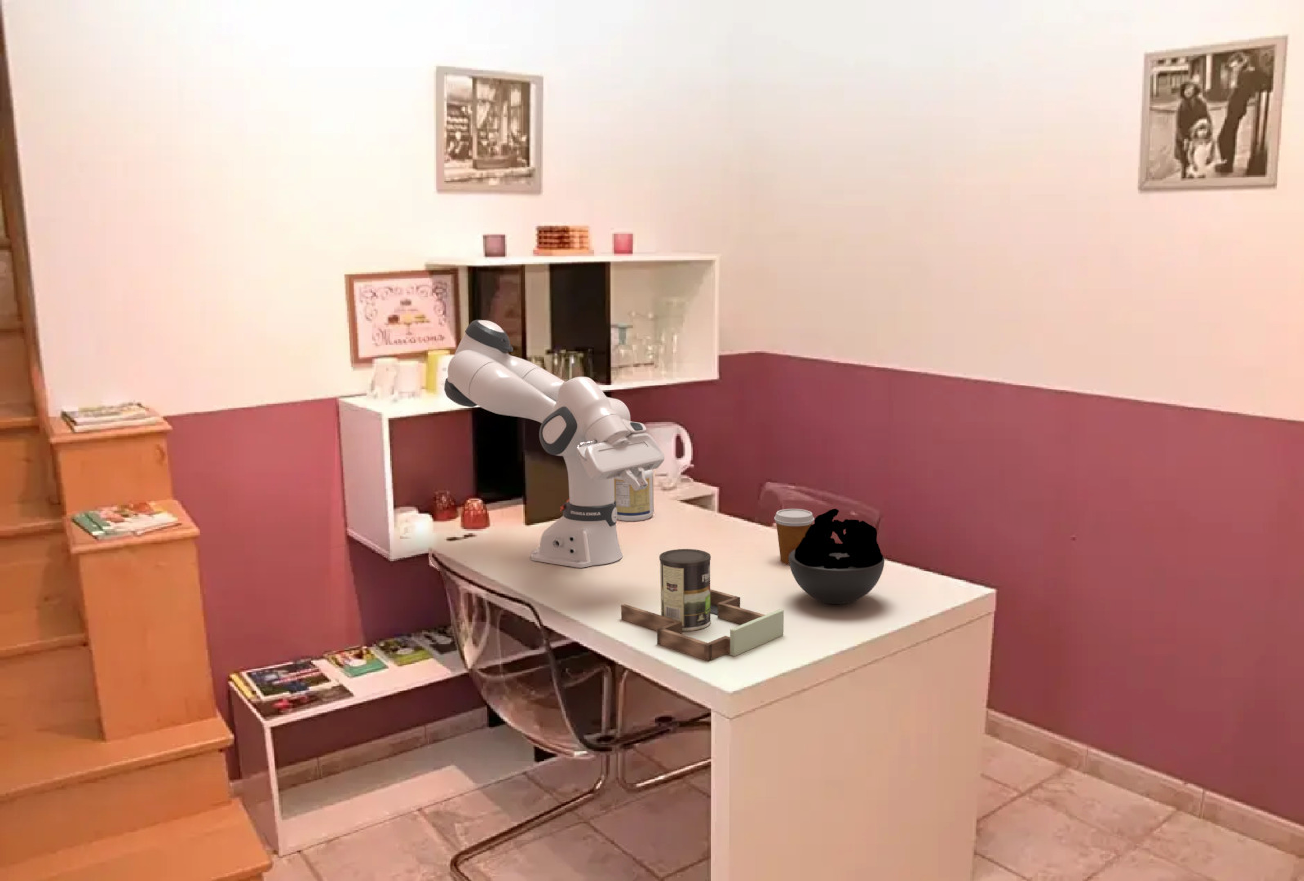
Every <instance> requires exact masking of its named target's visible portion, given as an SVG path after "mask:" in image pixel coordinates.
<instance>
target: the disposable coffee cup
mask: <svg viewBox="0 0 1304 881" xmlns="http://www.w3.org/2000/svg"><path fill="white" fill-rule="evenodd" d="M773 518H774V519H773V520H774V522H775V524H776V532H777V539H778V540H777V541H778V548H779V549H778V550H779V557H780V562H781V563H783V564H784V565H789V566H790V564H789V554H790V553H791V552H792V551H793V550H795V549H796V548H797V547H798V545H799V544H800V542H801V540H802V538H803V537H805V533H806V532H807V530H808V528H809V527H810V526H811V525H812V524H814V520H815V517H814V515H813V512H812V511H809V510H807V509H801V508H786V509H785V508H784V509H779V510H777V511H776V513H775V516H774V517H773Z"/></svg>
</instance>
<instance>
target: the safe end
mask: <svg viewBox="0 0 1304 881" xmlns="http://www.w3.org/2000/svg"><path fill="white" fill-rule="evenodd" d="M784 617H785V616H784V610H783V609H780V608H779V609H777V610H774V611H772V612H769V613H767V614H764V616H762V617H759V618H757V619H754V620H752V621H750V622H747V623H745V624H742V625H741V624H739V625H737V626H736V627H732V628H731V629H730V630H729V637H730V655H729V656H732V657H736V656H738V655H740V654H743V653H746V652H747V651H750V650H752V649H754V648H757V647H759V646H762V645H764V644H765V643H768V642H770V641H773V640H775V639H777V638H780V637H782V636H784V629H785V628H784V625H785V624H784Z"/></svg>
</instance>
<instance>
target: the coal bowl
mask: <svg viewBox="0 0 1304 881" xmlns="http://www.w3.org/2000/svg"><path fill="white" fill-rule="evenodd" d="M839 512H840V510H839V509H838V508H833V509H829V510H828V511H826V512H824V513H821V514H818V515H817V516H816V517H814V521H813V523H812V525H811V526H810V527H809V528H808V530H807V532H806V533H805V537H803V538H802V540H801V542H800V544H799V545H798V547H797V548H796V549H795V550H793V551H792V552H791V553H790V554H789V564H790V565H789V564H788V565H789V568H790V572H791V574H792V576H793V578H794V580H795V583H797V585H798V586H799V587H800V588H801V589H802V591H804V592H805V593H806V594H807V595H809V596H810V597H811V598H813V599H815V600H818V601H819V602H823V603H826V604H830V605H845V604H850V603H853V602H855V601H858V600H860V599H862V598H864V597H865V596H866V595H868V594H869V593H870V592H871V591H872V590H873V588H874V587H875V586H876V585H877V584H878V582H879V580H880V578H881V576H882V575H883V574H882V573H883V571H884V567H885V557H884V555H883V554H882V551H881V548H880V546H879V543H878V540H877V539H878V538H877V537H878V531H877V528H876V527H875V526H873V525H871V524H869V523H868V522H866V521H865V520H861V521H860V520H859V519H851V518H850V519H848V518H845V519H844V520H843V521H841V520H839V519H834V518H835V517H836V516H837V515H838V514H839ZM844 530H845V531H844ZM833 533H835V535H836V536H837V538H838V539H839V540H840V543H839V542H836V540H835V538H833V537H832V536H833Z"/></svg>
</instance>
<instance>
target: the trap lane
mask: <svg viewBox="0 0 1304 881" xmlns="http://www.w3.org/2000/svg"><path fill="white" fill-rule="evenodd" d="M620 613H621V614H620V616H621V617H620V619H621V620H622V621H626V622H627V623H628V622H629V623H630V624H631V623H632V624H634V625H638V626H641V627H644V628H647V629H650V630H653V631H656V642H657V643H656V644H657V645H660V646H663V647H666V648H668V649H672V650H675V651H677V652H679V653H683V654H687V655H689V656H691V657H694V658H698V659H701V660H703V661H707V662H710V661H712V660H714V659H717V658H719V657H721V656H724V655H729V656H731V655H730V636H728V635H723V636H721V637H718V638H716V639H714V640H711V641H709V642H706V641H703V640H700V639H696V638H694V637H691V636H688V635H685V634H683V631H682V622H680V621H677V620H674V619H671V618H668V617H664V616H661V614H657V613H654V612H650V611H647V610H645V609H642V608H638V607H635V606H632V605H629V604H626V603H624V604H621V605H620ZM710 614H713V615H716V616H717V618H718V619H722V620H725V621H728V622H731V623H734V624H735V623H736V624H738V625H742V624H745V623H747V622H750V621H752V620H754V619H757V618H759V617H762V616H764V615H765V614H763V613H761V612H755V611H753V610H750V609H746V608H743V607H741V597H740V596H736V595H733V594H729V593H726V592H723V591H722V592H721V591H718V590H715V589H711V588H710Z"/></svg>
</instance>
